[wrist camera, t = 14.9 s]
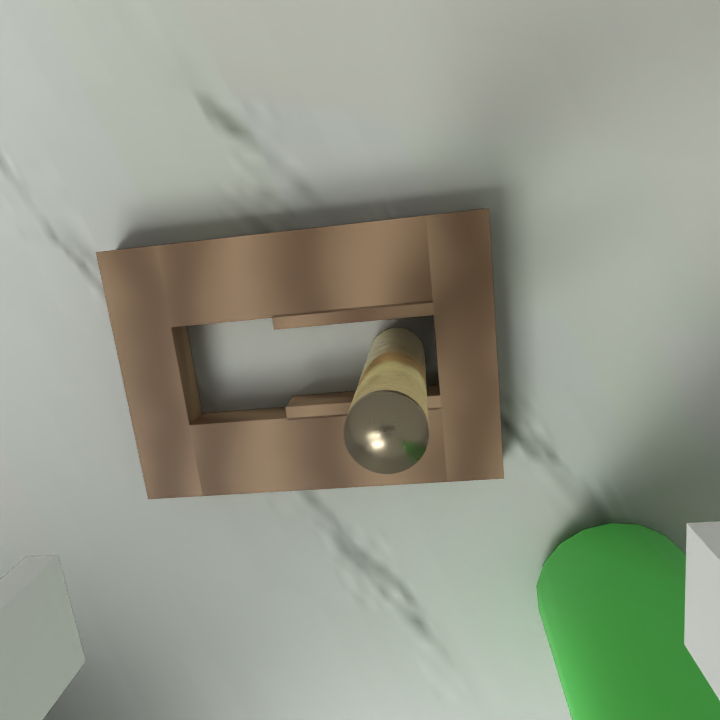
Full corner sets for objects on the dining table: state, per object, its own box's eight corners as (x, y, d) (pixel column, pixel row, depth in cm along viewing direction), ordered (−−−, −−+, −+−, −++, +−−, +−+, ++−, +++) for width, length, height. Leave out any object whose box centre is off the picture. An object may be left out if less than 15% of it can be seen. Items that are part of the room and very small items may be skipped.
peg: (369, 379, 33) (342, 471, 21) (370, 326, 32) (343, 392, 20) (423, 382, 32) (427, 476, 21) (425, 328, 32) (431, 395, 20)
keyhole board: (162, 483, 35) (148, 499, 33) (115, 249, 32) (95, 252, 30) (498, 463, 33) (503, 478, 31) (484, 208, 30) (489, 208, 28)
